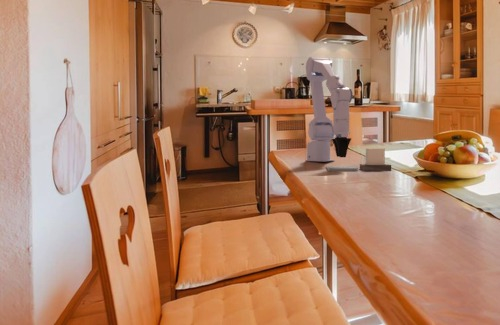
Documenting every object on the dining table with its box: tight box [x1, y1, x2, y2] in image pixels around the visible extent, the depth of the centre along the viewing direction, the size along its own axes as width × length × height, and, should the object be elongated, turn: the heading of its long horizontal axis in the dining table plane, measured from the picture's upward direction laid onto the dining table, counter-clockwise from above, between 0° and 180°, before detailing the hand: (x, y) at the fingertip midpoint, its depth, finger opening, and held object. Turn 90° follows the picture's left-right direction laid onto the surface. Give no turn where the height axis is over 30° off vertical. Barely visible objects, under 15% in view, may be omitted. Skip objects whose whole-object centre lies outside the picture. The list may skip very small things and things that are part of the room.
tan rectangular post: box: [365, 147, 386, 165], centre depth 122 cm, size 3×6×8 cm, turn 88°
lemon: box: [416, 147, 426, 168], centre depth 118 cm, size 6×6×8 cm
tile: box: [325, 165, 359, 172], centre depth 123 cm, size 10×10×1 cm
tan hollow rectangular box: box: [359, 163, 392, 172], centre depth 122 cm, size 7×10×2 cm
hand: (341, 156), depth 123 cm, fingers open, 6 cm apart
